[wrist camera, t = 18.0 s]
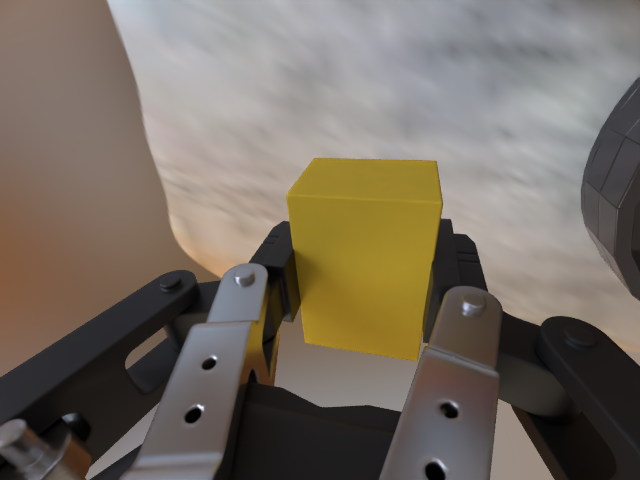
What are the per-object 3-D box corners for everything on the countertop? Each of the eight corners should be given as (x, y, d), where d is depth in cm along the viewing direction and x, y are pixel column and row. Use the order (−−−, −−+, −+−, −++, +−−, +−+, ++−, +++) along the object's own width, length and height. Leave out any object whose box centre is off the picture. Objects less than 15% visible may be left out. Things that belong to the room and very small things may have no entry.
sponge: (314, 157, 11) (285, 194, 9) (437, 159, 10) (443, 202, 8) (323, 289, 14) (304, 343, 12) (417, 301, 13) (417, 362, 11)
